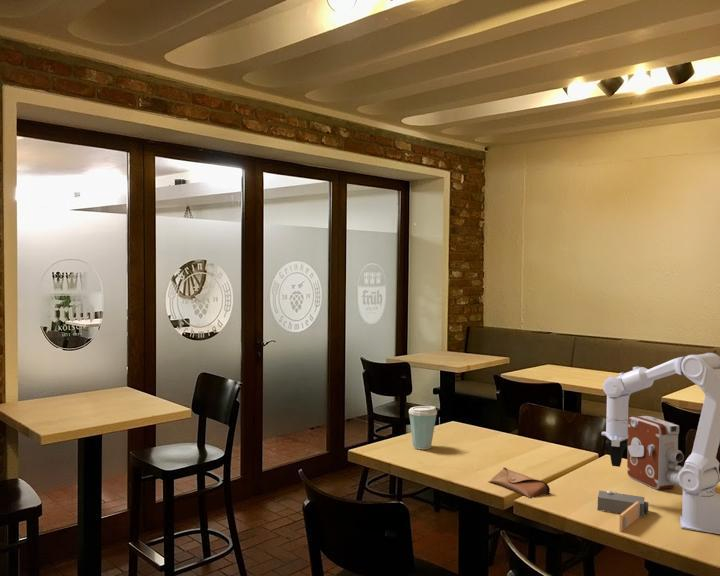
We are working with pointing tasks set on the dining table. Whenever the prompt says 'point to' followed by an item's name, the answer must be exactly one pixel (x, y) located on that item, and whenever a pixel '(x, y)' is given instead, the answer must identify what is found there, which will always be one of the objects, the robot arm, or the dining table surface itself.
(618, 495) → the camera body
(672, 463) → the cine camera
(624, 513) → the side door
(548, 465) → the dining table surface
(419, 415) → the disposable coffee cup
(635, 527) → the dining table surface
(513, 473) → the sunglasses case
